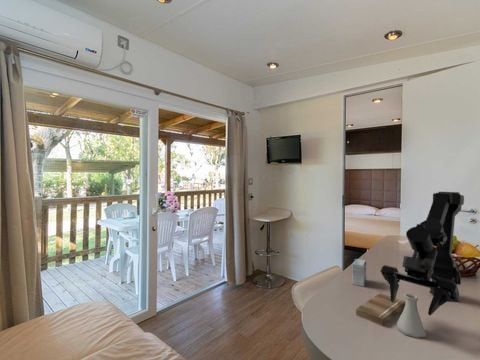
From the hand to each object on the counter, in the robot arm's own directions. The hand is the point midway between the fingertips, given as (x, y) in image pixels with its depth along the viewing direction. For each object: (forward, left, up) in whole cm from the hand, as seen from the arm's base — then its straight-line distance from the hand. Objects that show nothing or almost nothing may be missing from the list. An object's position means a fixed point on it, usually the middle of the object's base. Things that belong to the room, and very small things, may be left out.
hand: (409, 307), depth 73 cm
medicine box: (+5, -34, -7) cm, 35 cm away
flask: (-1, -1, -7) cm, 7 cm away
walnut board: (+4, -11, -7) cm, 14 cm away
